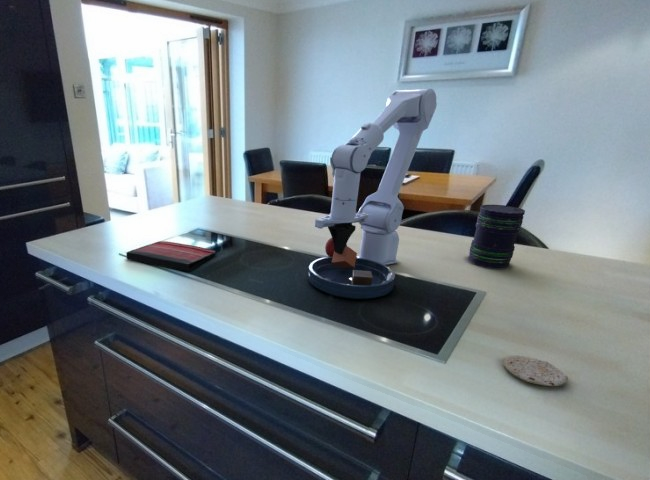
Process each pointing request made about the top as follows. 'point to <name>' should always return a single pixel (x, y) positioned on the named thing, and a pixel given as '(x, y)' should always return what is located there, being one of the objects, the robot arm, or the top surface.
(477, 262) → the storage jar
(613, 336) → the top surface
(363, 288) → the bowl
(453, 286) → the top surface
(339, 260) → the terracotta block
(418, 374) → the top surface
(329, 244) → the onion
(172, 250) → the binder
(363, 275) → the walnut block
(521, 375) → the flatbread
